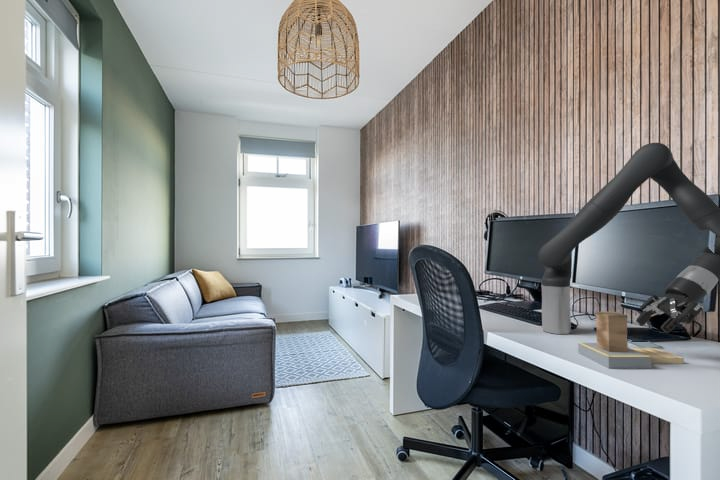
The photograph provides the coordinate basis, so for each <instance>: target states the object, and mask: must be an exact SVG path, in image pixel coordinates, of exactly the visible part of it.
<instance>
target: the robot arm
mask: <svg viewBox="0 0 720 480" xmlns="http://www.w3.org/2000/svg"><path fill="white" fill-rule="evenodd" d="M649 179H651V180H653V181H654V182H655V183H656V184H658V186H660V187H661V188H662V189H663V190H664V191H665V192H666V194H667V195H669V197H670V198H671V200H672V201H673V202H674V204H675V205H676V206H677V207H678V208H679V210H680V211H681V212H682V214H684V215H685V217H686V218H687V219H688V220H689V221H690V223H692V224H693V226H694V227H696V228H697V229H698V230H701V231H710V232H712V234H714V235H715V236H717V238H716V240H715V245H714V246H715V250H716V252H717V254H715V253H713V252H712V251H711V250H710V249H709V247H708V246H706V245H705V246H704V247H703V249H702V250H701V252H700V253H699V255H698V256H697V257H696V258H695V259H694V260H693V261H692V262H691V263H690V264H689V265H688V266H687V267H686V268H685V269H683V270H682V271H681V272H680V273H679V274H677V276H675V278H674V279H673V280H672V281H671V282H669V284H668V285H667V286H666V287H665V289H664V290H665V294H664V295H663V296H658V295H657V294H656V293H654V294H652V295H651V296H650V297H649V298H648V299H647V300H646V301H645V302H644V303H642V305H640V306H639V309H641V311H642V313H640V315H639V316H638V317H637V318H636V319H635V322H636V323H637V324H638V325H639V326H642V327H643V326H645V325H646V324H647V323H648V322H649V320H651V319H652V317H654V316H657V315H663V314H670V317H668V319H667V320H666V321H664V322H663V323H662V325H661V326H660V330H662V331H663V332H664V333H667V334H669V333H670V332H672V331H674V329H675V328H676V327H677V326H678V325H682V324H684V323H685V324H687V325H689V324H691V323H692V322H693V321H694V320H695V318H696V317H697V316H698V315H699V314H700V313H701V311H703V309H704V308H703V306H701V304H699V303H700V302H701V301H703V299H704V298H705V297H706V296H707V295H708V294H709V293H710V292H711V291H712V290H713V289H714V288H715V286H716V285H717V283H718V282H719V281H720V208H719V207H720V206H719V205H718V204H717V203H716V202H715V201H714V199H712V198H711V197H710V196H709V195H708V194H706V193H705V192H704V191H703V190H702V189H701V188H700V187H698V186H697V185H696V184H695V183H694V182H693V181H692V180H691V179H689V178H688V177H687V175H686V174H685V173H684V172H683V170H681V168H680V167H679V165H678V164H677V162H676V160H675V158H674V156H673V152H672V151H671V149H670V148H669V147H668V146H667V145H666V144H665V143H662V142H650V143H647V144H645V145H642V146H640V147H639V148H637V150H636V151H635V152H634V153H633V155H632V156H631V157H630V158H629V159H628V160H627V162H626V163H625V165H624V166H623V167H622V168H620V170H619V171H618V173H616V175H615V176H614V177H613V178H612V179H611V180H610V181H609V182H607V183H606V184H605V185H604V186H603V187H602V188H600V190H599V191H598V192H597V193H595V194H594V195H593V196H592V197H591V198H590V199H589V200H588V201H587V202H586V203H585V204H584V205H583V206H582V208H580V210H579V211H578V212H576V214H575V215H574V216H573V217H572V218H571V219H570V220H569V222H567V223H566V225H565V226H564V228H562V229H561V230H560V232H558V233H557V234H556V235H555V236H553V237H552V238H551V239H550V240H549V241H547V242H546V243H545V244H544V245H543V246H541V247H540V249H539V251H538V253H537V257H538V262H539V263H540V264H541V265H542V266H543V267H544V273H543V276H542V277H541V328H542V331H543V332H545V333H549V334H553V335H554V334H555V335H568V334H571V332H572V331H571V330H572V328H571V327H572V322H571V321H572V320H571V314H572V313H571V280H572V266H573V265H572V264H573V263H572V252H573V250H575V248H576V247H578V246H579V244H581V243H583V241H585V240H586V239H588V238H590V237H591V236H593V235H594V234H596V233H598V231H600V230H601V229H603V228H604V227H605V226H607V224H609V223H610V221H612V220H613V219H614V218H615V217H616V216H617V215H618V214H619V213H620V211H621V210H623V208H624V207H625V205H626V204H627V203H628V202H629V199H630V198H631V197H632V195H633V194H634V193H635V192H636V191H637V189H638V188H640V186H642V185H643V184H644V183H645V182H646V181H648V180H649ZM708 196H709V197H708ZM714 202H715V203H716V204H717V205H718V206H719V207H718V206H717V205H716V204H715V203H714Z"/></svg>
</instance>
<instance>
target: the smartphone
mask: <svg viewBox="0 0 720 480" xmlns="http://www.w3.org/2000/svg"><path fill="white" fill-rule="evenodd" d="M627 343H628V345H631V346H632V347H654V348H657V349H659V350H662V349H665V347H664V346H662V345H659V344H657V343H654V342H651V341H648V342H631V341H627Z"/></svg>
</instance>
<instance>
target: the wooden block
mask: <svg viewBox="0 0 720 480" xmlns="http://www.w3.org/2000/svg"><path fill="white" fill-rule="evenodd" d="M595 315H596V316H595V318H596V319H595V320H596V343H597V347H599V348H601V349H603V350H606V351H608V352H628V345H629V344H628V343H627V334H628V315H627V314H624V313H620V312H617V311H595Z"/></svg>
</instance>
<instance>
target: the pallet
mask: <svg viewBox="0 0 720 480" xmlns="http://www.w3.org/2000/svg"><path fill="white" fill-rule="evenodd" d="M628 348H630V349H632V350H635V351H637V352H640V353H643V354H645V355H648V356H651V365H652V364H653V365H654V364H657V365H663V364H664V365H665V364H669V365H672V364H673V365H677V364H680V365H681V364H683V365H684V363H685V360H684V359H685V358H684V357H681V356H679V355H676V354H673V353H671V352H669V351H665V350H662V349H657V348H654V347H636V346H629V347H628Z"/></svg>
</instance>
